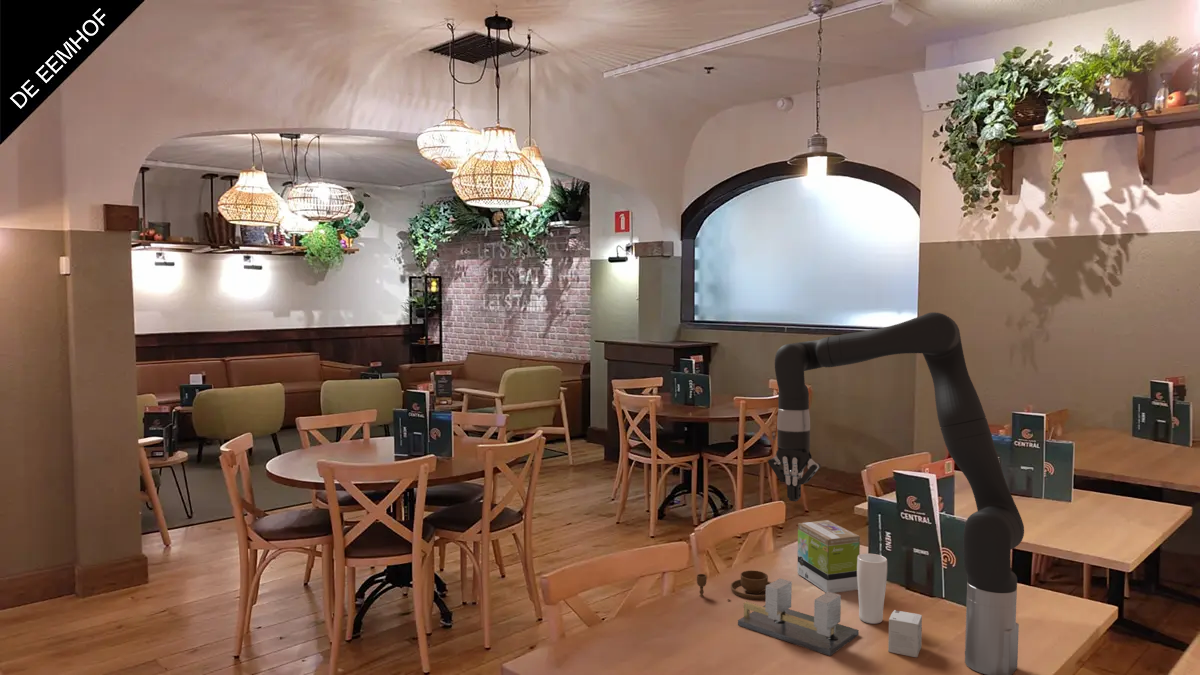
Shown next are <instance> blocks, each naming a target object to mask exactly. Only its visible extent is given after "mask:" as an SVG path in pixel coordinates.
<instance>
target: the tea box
mask: <svg viewBox="0 0 1200 675" xmlns="http://www.w3.org/2000/svg"><path fill="white" fill-rule="evenodd" d="M860 537H861V536H860V535H858V534H856V533H855V532H852V531H850V530H848V529H847V528H844V527H843V526H841V525H838V524H837V523H834V522H832V521H831V520H829V519H825V520H817V521H807V522H802V523H801V522H798V523H797V575H799V576H801V577H802V578H804V579H805V580H807V581H809V582H810V583H811V584H813V585H814V586H815V587H818V588H819V589H820V590H822V591H823V592H824V593H827V592H832V593H835V594H838V593H843V592H851V591H858V585H857V557H858V555H860V554H861V552H860V551H861V550H860V548H861V547H860V545H861V541H860V540H861V538H860Z"/></svg>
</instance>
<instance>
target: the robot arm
mask: <svg viewBox="0 0 1200 675" xmlns="http://www.w3.org/2000/svg"><path fill="white" fill-rule="evenodd" d="M958 326H959V325H958V324H957V323H956V322H955V321H954V319H952V318H951V317H950V316H947V315H946V314H944V313H941V312H936V311H935V312H933V311H932V312H928V313H925V314H922V315H919V316H917V317H915V318H912V319H909V320H906V321H903V322H900V323H899V322H898V323H896V324H893V325H889V326H885V327H880V328H874V329H870V330H869V329H868V330H863V331H855V332H850V333H849V332H848V333H842V334H836V335H832V336H831V335H830V336H827V337H823V338H819V339H817V340H807V341H800V342H793V343H792V342H791V343H787V344H783V345H781V347H779V348H778V349H777V351H776V353H775V357H774V372H775V378H776V382H777V389H778V397H777V398H778V399H777V400H778V403H777V404H778V406H777V407H778V410H777V416H776V417H777V421H776V426H777V428H776V429H777V432H776V433H777V435H776V437H777V439H776V441H777V443H776V444H777V450H776V452H775V453H776V454H775V456H774V457H772V458H770V459H768V461H767V463H768V465H769V467H770V468H771V469H772V470H773V473H774V474H775V475H776V477H777V478H778V481H780V482H784V483H785V484H786V492H787V493H786V497H787V499H788V500H789V502H790V501H791V502H798V501H799V499H801V497H802V485H804V484H807V483H809V482H810V480H811V479H812V478H813V477H814V476H815V474H816V473H817V472H818V471H819V469H820V468H821V464H820V463H819V462H818V463H817V462H815V460H814V459H812V456H813V455H812V454H811V452H810V450H811V416H810V415H811V414H810V397H809V395H810V393H809V388H808V386H807V385H806V382H805V371H812V370H817V369H821V368H835V367H841V366H849V365H854V364H858V363H864V362H867V361H871V360H874V359H878V358H882V357H888V356H893V355H903V354H922V355H923V357H924V359H925V362H926V364H927V367H928V370H929V373H930V376H931V379H932V382H933V388H934V398H935V407H936V414H937V419H938V420H937V421H938V425H939V427H940V432H941V435H942V437H943V438H942V439H943V441H944V444H945V446H946V450H947V452H948V454H949V455H950V458H952V460H953V461H954V463H955V465H957V467H958V469H959V470H960V471H961V472H962V475H964V477H965V478H966V480H967V482H968V483H969V486H970V488H971V491H972V493H973V497H974V501H975V505H976V509H977V511H975V512H973V513H972V514H970V515H969V516H968V517H967V519H966V521H965V523H964V528H963V566H964V567H963V568H964V569H965V572H966V575H967V576H966V580H967V581H966V583H967V584H966V605H965V606H966V610H965V612H966V613H965V638H964V640H965V641H964V644H965V645H964V663H965V665H966V666H967V667H968V668H970V669H972V670H973V671H975V672H977V673H978V674H979V673H980V674H984V675H1013V674H1014V673H1015V671H1016V670H1017V669H1018V662H1019V661H1018V658H1019V655H1018V654H1019V632H1020V630H1019V628H1020V627H1019V625H1020V624H1019V623H1018V622H1017V598H1018V597H1017V595H1018V577H1017V574H1016V573H1015V572H1014V571H1013V570H1012V569H1011V565H1012V564H1011V555H1012V554H1011V550H1013V549H1015V548H1016V547H1018V546H1019V545H1020V544H1021V543H1022V541H1023V539H1024V536H1025V526H1024V523H1023V522H1024V521H1023V519H1022V517H1021V514H1020V512H1019V509H1018V507H1017V505H1016V503H1015V500H1014V498H1013V495H1012V494H1011V493H1012V492H1011V491H1010V489H1009V487H1008V484H1007V481H1006V479H1005V475H1004V472H1003V470H1002V465H1001V462H1000V459H999V455H998V452H997V449H996V447H995V443H994V439H993V435H992V432H991V429H990V425H989V423H988V419H987V415H986V413H985V411H984V409H983V406H982V403H981V401H980V400H981V399H980V397H979V395H978V392H977V390H976V388H975V385H974V383H973V381H972V378H971V377H970V375H969V371H968V367H967V365H966V364H967V363H966V360H965V354H964V350H963V345H962V339H961V338H962V337H961V333H960V329H959V327H958ZM806 467H807V471H806V472H805V473H804V470H805V468H806Z"/></svg>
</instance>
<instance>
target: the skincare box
mask: <svg viewBox="0 0 1200 675" xmlns="http://www.w3.org/2000/svg"><path fill="white" fill-rule="evenodd" d="M922 620H923V615H922V614H919V613H914V612H907V611H902V610H896V609H894V610H893V611H892V612H891V614H890V616H889V618H888V641H887V642H888V644H887V645H888V647H887V648H888V649H887V651H888V652H889V653H893V654H898V655H903V656H907V657H912V658H918V657H919V653H920V651H921V649H922V638H923V637H922V633H923V632H922V631H923V627H922V626H923V625H922V624H923V621H922Z"/></svg>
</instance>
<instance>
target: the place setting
mask: <svg viewBox="0 0 1200 675" xmlns="http://www.w3.org/2000/svg"><path fill="white" fill-rule="evenodd" d="M707 580H708V579H707V574H705V573H698V574H697V575H696V584H697V587H698V586H699V594H700V595H699V596H698V597H700V598H704V593H705V591H704V587H705V586H706V585H707ZM770 583H772V582H771V581H769V576H768V574H767V573H766V572H763V571H760V570H752V569H751V570H745V571H742V572H740V579H736V580H734V581H732V582H731V584H730V589H731V591H732V593H733V594H735V595H736V596H738V597H740V598H743V599H747V600H748V599H749V600H766V594H760V593H762V592H764V591H766V585H768V584H770ZM740 586H741V587H742V588H743V589H744V590H746V592H747V593H744V592H742V591H738V590H736V588H737V587H740ZM748 593H749V594H748ZM727 602H730V603H732V600H731V599H729V598H728V599H727Z"/></svg>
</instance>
